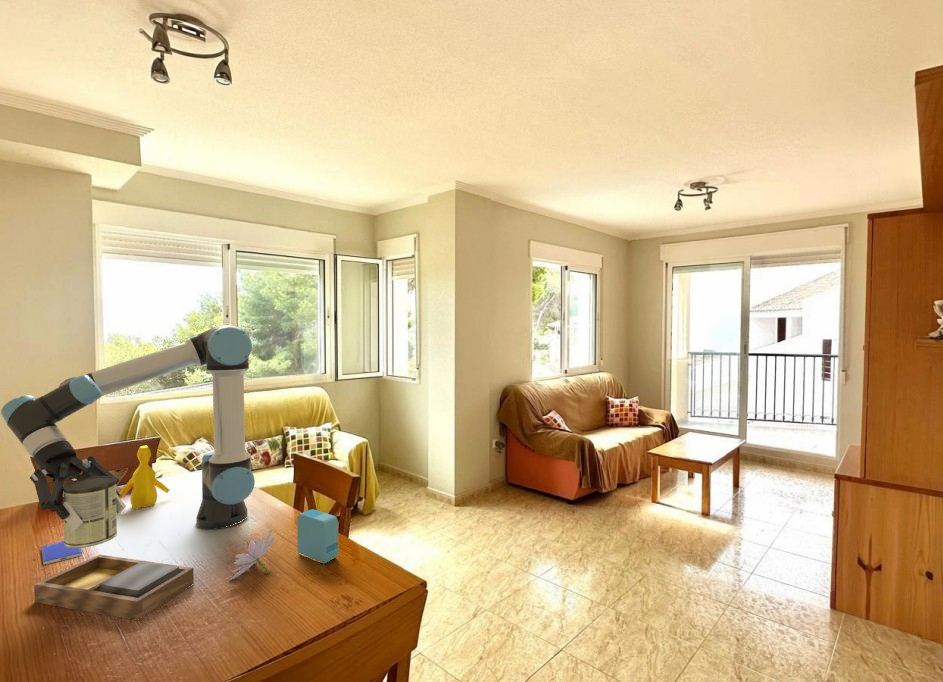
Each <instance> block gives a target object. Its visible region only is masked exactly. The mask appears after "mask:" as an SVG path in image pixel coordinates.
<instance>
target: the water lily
mask: <svg viewBox="0 0 943 682" xmlns="http://www.w3.org/2000/svg"><path fill="white" fill-rule="evenodd" d="M272 532H273V528H271V529H270V530H269V531H268V532H267V534H266V535H265V537H264V539H263V536H260V538H259V539H258V540H257V541H256V543H255V541H254V540H253V539H250V541H249V543H248V547H247V548H248V552H246V553H238V554H236V555H235V558H236V559H234V560H233V561H234V562H232V563H233V565H238V566H240V567H237V568H235V569H234V570H233V571H231V573H235V574H234V575H233V576H232V577H231V578H230V579H229V580H231V581H232V579H233V580H235V579H236V578H238V577H240V576H241V575H243V574H244V573H245V572H246V571H248V570H249V569H250V568H252V566H254V565H255V564H256V563H259V565H260V566H261V568H262V569H263V570H264V572H265V574H267V573H268V574H270V571H269V570H268V568H267V567H266V566H265V565H264V563H263V562H262V561H261V559H260V558H262V557H263V555H265V553H266V552H268V550H269V549H270V547H271V546H272V545H273V542H274V541H275V539H276V535H274V536H273V537H271V536H272ZM270 538H271V539H270Z"/></svg>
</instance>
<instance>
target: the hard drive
mask: <svg viewBox="0 0 943 682" xmlns="http://www.w3.org/2000/svg"><path fill="white" fill-rule="evenodd" d="M64 542H65V541H64V540H63V541H59V542H54V543H50V544H46V545H43V546H41V554H42V555H41V557H42V562H43V566H45V564H46V565H49V564H54V563H57V562H61V561H64V560H68V559H69V560H70V559H73V558H77V557H82V556H83V550H82V548H67V547H65V546H64Z"/></svg>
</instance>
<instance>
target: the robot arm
mask: <svg viewBox="0 0 943 682" xmlns="http://www.w3.org/2000/svg"><path fill="white" fill-rule="evenodd" d="M252 346H253V343H252V340H251V337H250V335H249V334H248V333H247V332H246V331H244V330H243V329H242V328H241V327H238V326H236V325H229V324H227V325H218V326H214V327H212V328H210V329H208V330H206V331H204V332H203V331H202V332H200V333H199V334H196V335H193V336H191V337H188V338H186V341H184V342H181V343H180V344H175V345H173V346H170V347H167V348H164V349H160V350H158V351H154V352H151V353H148V354H144V355H141V356H139V357H135V358H132V359H128V360H127V361H126V360H125V361H122V362H119V363H116V364H113V365H110V366H107V367H103V368H101V369H98V370H94V371H92V372H90V373H85V374H82V375H80V376H79V375H78V376H77V377H76V376H74V377H69V378H67V379H65V380H64V381H62V382H61V383H60V384H59V385H58V387H57V388H55V389H52V390H51V391H49V392H48V393H45V394H44V395H41V396H40V397H37V398H36V397H35V396H34V395H27V394H25V395H21V396H20V397H14V398H13V399H11V400H9V401H7V402H6V403H5V404H4V405H3V406H2V407H1V410H0V414H1V417H3V419H4V420H5V422H6V425H7V427H9V429H10V430H11V431H12V433H13V434H14V435H15V437H16V438H17V439H18V441H19V442H20V443H21V445H22V447H23V448H24V449H25V451H26V452H27V453H28V455H29V456H30V457H31V458H32V460H33V461H34V463H35V464H36V466H37V467H38V468H37V469H35V470H34V471H33V473H32V474H31V476H29V479H30V480H31V482H32V483H33V484H34V487H35V491H36V495H37V499H38V502H39V506H40V509H41V510H42V511H43V512H45V511H48V510H49V512H50V513H56V514H57V515H58V517H59V518H60V520H63V521H64V519H65V520H66V522H67V523H68V524H69V526H70V527H71V529H72V530H73V531H76V530H77V529H78V528H79V527H80V526H81V525H82V523H83V522H82V520H81V519H80V518H79V516H78V515H77V513H76V512H75V511H74V509H73V508H72V507H71V505H70V504H69V503H68V501H67V502H64V490H63V486H64V485H65V482H67V481H69V480H78V479H82V478H87V477H94V476H114V477H116V476H115V474H114V475H113V473H111V472H110V471H109V470H108V469H106V468H105V467H104V466H103V465H101V464H100V463H99V462H98V461H97V460H96V458H95V457H94V456H92V455H90V456H88V458H85V459H81V457H78V456H77V452H76V450H75V448H74V447H73V446H72V444H71V443H70V441H68V439H67V437H66V436H65V435H64V434H63V432H62V431H61V429H60V428H59V427H58V425H56V423H58V422H60V421H62V420H63V419H65V418H67V417H69V416H71V415H73V414H74V413H76V412H78V411H81V410H82V409H84V408H86V407H87V406H89V405H92V404H94V402H96V401H97V400H99V399H101V398H102V397H103V396H107V395H110V394H113V393H117V392H118V391H122V390H124V389H127V388H130V387H133V386H136V385H139V384H142V383H146V382H147V381H151V380H154V379H157V378H159V377H163V376H165V375H168V374H171V373H174V372H176V371H180V370H182V369H183V370H184V369H185V368H189V367H192V366H199V367H202V366H204V365H206V371H207V372H208V373H209V374H210V375H211V376H212V405H213V406H212V409H213V410H212V411H213V451H212V452H207V453H205V454H203V455H202V457H201V483H202V484H201V486H202V488H201V494H202V500H201V502H200V506H199V509H198V512H197V515H196V523H195V524H196V526H197V527H198V528H200V529H204V530H205V529H206V530H215V529H214V528H219V529H222V528H221V527H225V528H227V527H226V526H229V527H231V526H230V525H233V524H235V523H238V522H240V521H242V520H243V519H245V518H246V517H247V518H248V508H247V506H246V502H245V500H246V499H247V498H248V497H249V496H250V495H251V493H253V490H254V488H255V485H256V484H255V482H256V480H255V475H254V474H253V472H252V460H251V459H252V458H251V457H252V454H251V453H249V452H248V451H247V450H246V428H245V426H246V425H245V424H246V423H245V421H246V420H245V417H246V416H245V378H244V376H245V373H246V372H247V371H248V370H249V369H250V361H249V358H250V355H251V352H252V349H253V347H252ZM47 477H48V478H50V479H51V487H52V490H50V486H49V482H48V479H47ZM119 482H120V479H119V478H117V482H116V486H117V485H118V484H119ZM120 497H121V496H120V494H119V491H118V490H117V489H116V510H117V515H119V514H121V513H122V512H124V510H125V509H126V507H127V505H126V504H125V503H124V502H123V500H122V498H121V499H120ZM247 518H246V519H247ZM246 519H245V520H246ZM233 526H234V525H233Z"/></svg>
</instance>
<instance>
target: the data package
mask: <svg viewBox="0 0 943 682" xmlns="http://www.w3.org/2000/svg"><path fill="white" fill-rule="evenodd" d="M296 527H297V528H296V529H297V553H298V554H299V553H301V554H304V555H306V556H308V557H310V558H312V559H315V560H317V561H320V562H322V563H326V564H328V563H330V562H331V561H330V560H332V559H334V558H336V557H337V558H338V556H339V520H338V518H337V516H335V515H332V514H330V513H326V512H323V511H320V510H316V509H313V508H312V509H309V510H306V511H304V512H301V513H299V514H298V515H297V526H296ZM337 558H336V559H337ZM334 560H335V559H334ZM329 561H330V562H329ZM332 561H333V560H332ZM327 562H328V563H327Z"/></svg>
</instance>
